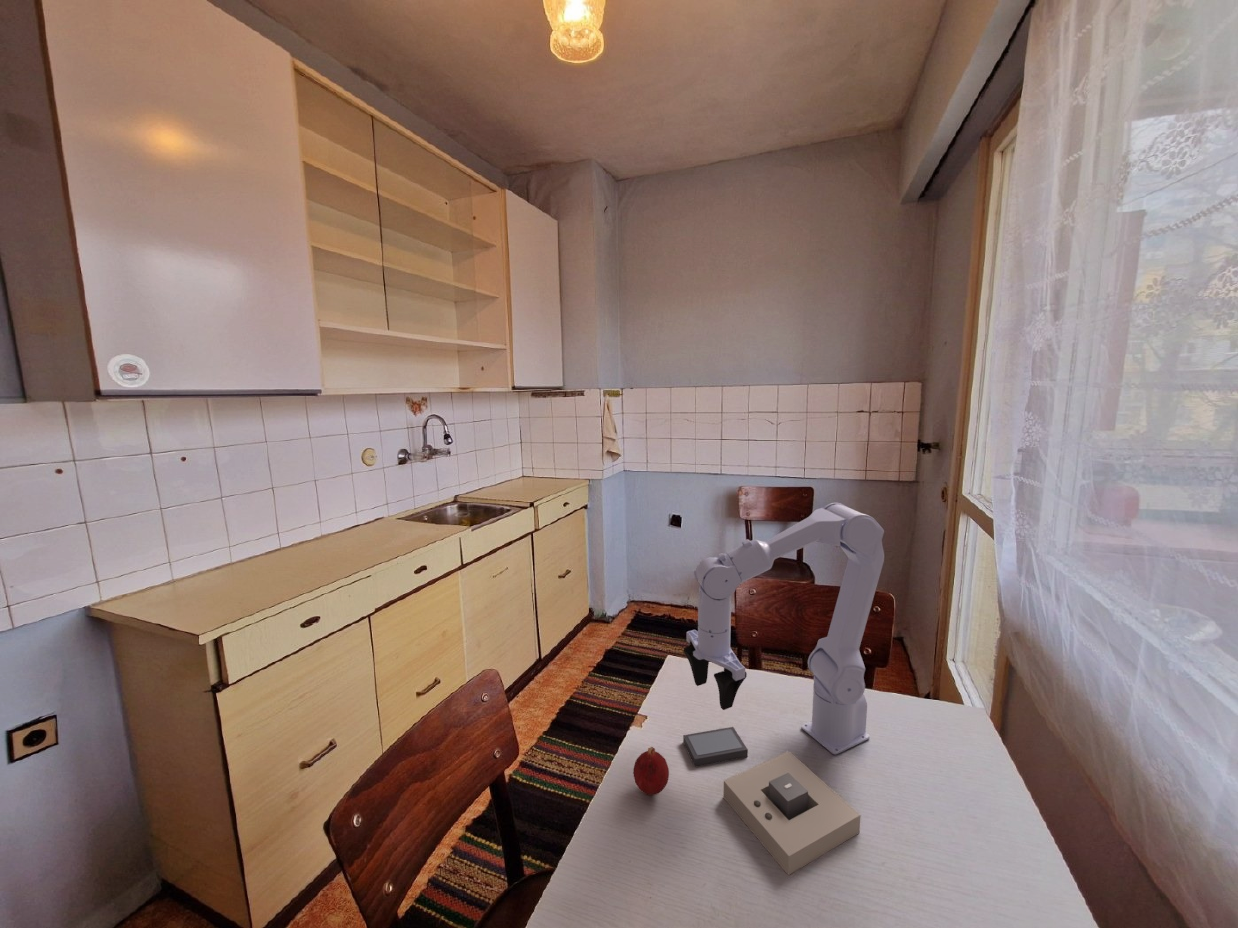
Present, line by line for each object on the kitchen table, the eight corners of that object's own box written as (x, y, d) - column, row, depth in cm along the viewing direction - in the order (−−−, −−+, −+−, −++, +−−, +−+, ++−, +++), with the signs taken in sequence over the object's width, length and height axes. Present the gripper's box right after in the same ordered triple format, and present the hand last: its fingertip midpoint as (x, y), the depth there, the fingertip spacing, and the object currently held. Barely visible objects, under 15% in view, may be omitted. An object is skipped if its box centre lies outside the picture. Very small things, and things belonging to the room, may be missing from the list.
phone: (732, 736, 91) (733, 726, 90) (747, 759, 85) (747, 748, 85) (683, 744, 89) (683, 734, 88) (694, 769, 83) (694, 758, 83)
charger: (787, 800, 76) (788, 771, 75) (806, 820, 72) (808, 790, 71) (768, 809, 74) (768, 780, 73) (786, 830, 71) (788, 800, 70)
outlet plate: (788, 766, 82) (789, 750, 82) (859, 832, 70) (860, 813, 69) (723, 796, 77) (723, 779, 76) (788, 875, 64) (789, 855, 64)
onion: (667, 810, 74) (666, 765, 73) (630, 804, 75) (630, 760, 74) (670, 780, 80) (670, 738, 79) (636, 775, 81) (636, 734, 80)
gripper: (673, 613, 89) (673, 679, 91) (722, 650, 76) (720, 726, 78) (703, 605, 92) (703, 669, 94) (755, 639, 79) (753, 713, 81)
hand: (713, 694), depth 87 cm, fingers open, 7 cm apart
